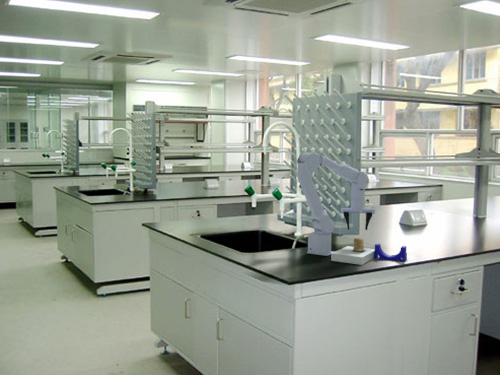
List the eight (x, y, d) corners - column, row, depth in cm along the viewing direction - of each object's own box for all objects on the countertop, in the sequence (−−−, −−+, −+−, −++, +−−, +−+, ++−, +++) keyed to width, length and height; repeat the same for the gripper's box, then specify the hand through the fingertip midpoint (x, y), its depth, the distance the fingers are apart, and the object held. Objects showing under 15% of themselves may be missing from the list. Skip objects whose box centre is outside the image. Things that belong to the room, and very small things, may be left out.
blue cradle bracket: (406, 260, 204) (407, 245, 204) (404, 262, 200) (404, 247, 200) (377, 256, 210) (377, 242, 209) (374, 259, 206) (374, 244, 205)
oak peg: (351, 258, 206) (351, 239, 206) (355, 256, 210) (356, 237, 209) (360, 259, 204) (361, 240, 203) (365, 257, 207) (365, 238, 207)
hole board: (331, 260, 202) (331, 253, 202) (347, 252, 216) (347, 246, 216) (362, 264, 195) (362, 257, 195) (376, 256, 209) (376, 249, 209)
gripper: (341, 199, 216) (340, 230, 218) (375, 200, 214) (374, 231, 215) (341, 197, 223) (340, 227, 225) (374, 198, 221) (373, 228, 222)
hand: (357, 229), depth 220 cm, fingers open, 7 cm apart
